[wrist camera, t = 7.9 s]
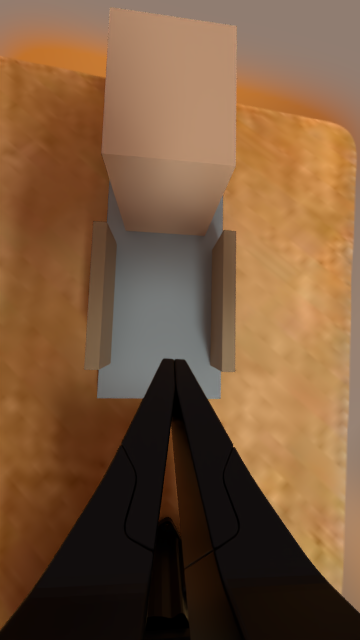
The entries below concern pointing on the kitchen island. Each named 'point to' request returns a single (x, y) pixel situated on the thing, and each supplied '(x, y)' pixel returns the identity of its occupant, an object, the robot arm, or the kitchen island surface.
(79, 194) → the kitchen island surface
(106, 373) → the chute
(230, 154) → the block
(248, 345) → the kitchen island surface
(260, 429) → the kitchen island surface
